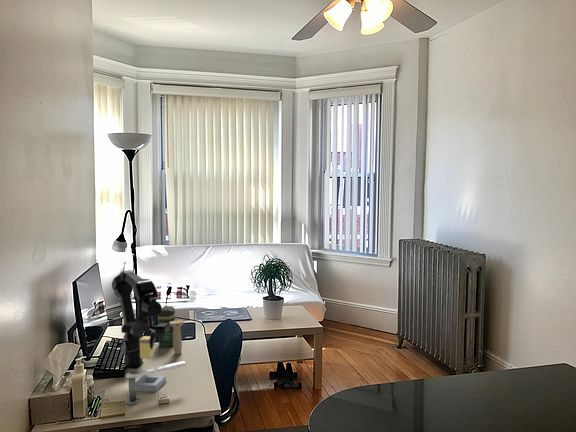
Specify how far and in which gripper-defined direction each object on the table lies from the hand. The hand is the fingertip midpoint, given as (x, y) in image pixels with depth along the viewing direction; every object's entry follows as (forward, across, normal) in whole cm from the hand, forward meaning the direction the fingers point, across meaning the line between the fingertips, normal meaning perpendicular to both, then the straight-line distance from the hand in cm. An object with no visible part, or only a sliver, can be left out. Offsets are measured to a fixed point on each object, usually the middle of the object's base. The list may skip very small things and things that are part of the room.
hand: (146, 348), depth 201 cm
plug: (+4, 0, 0) cm, 4 cm away
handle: (+12, +2, +27) cm, 30 cm away
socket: (+12, +5, -9) cm, 16 cm away
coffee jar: (+12, -8, +39) cm, 41 cm away
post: (+12, +5, -23) cm, 26 cm away
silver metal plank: (+2, +12, -17) cm, 21 cm away
